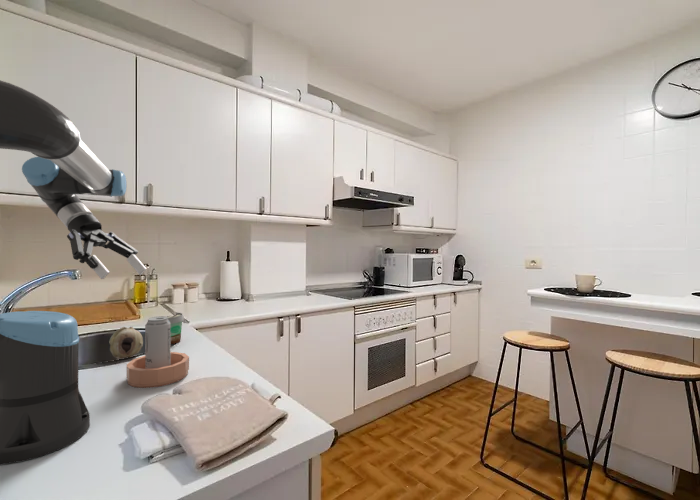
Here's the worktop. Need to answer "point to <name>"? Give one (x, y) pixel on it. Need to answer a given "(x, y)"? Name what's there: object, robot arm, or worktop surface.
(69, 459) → the worktop surface
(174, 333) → the food container
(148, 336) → the energy drink can
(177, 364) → the terracotta bowl
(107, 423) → the worktop surface
